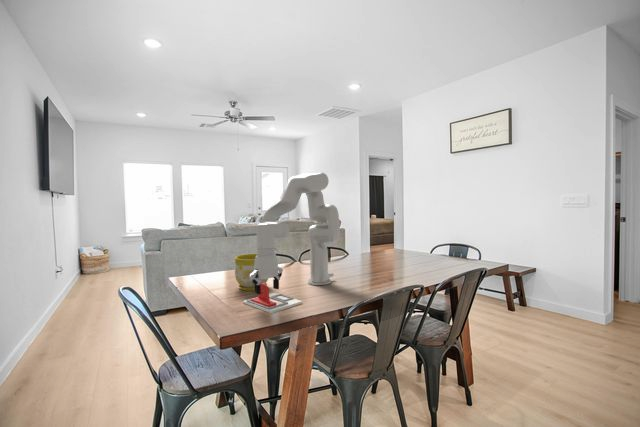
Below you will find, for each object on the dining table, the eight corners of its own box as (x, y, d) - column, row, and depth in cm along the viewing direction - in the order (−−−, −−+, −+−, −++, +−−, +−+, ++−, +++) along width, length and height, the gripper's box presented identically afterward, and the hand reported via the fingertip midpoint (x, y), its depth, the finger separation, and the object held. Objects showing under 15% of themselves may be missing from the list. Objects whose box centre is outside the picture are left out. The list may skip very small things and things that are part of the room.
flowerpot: (262, 281, 186) (261, 252, 185) (276, 288, 171) (275, 256, 170) (230, 286, 176) (229, 255, 175) (242, 294, 161) (241, 260, 160)
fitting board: (274, 294, 159) (273, 291, 159) (302, 303, 145) (302, 299, 145) (243, 303, 147) (243, 299, 147) (271, 313, 133) (270, 309, 133)
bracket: (251, 301, 146) (251, 283, 145) (260, 299, 149) (259, 281, 148) (267, 307, 137) (267, 288, 137) (276, 305, 140) (275, 286, 140)
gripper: (276, 248, 152) (277, 285, 153) (243, 253, 140) (245, 294, 141) (287, 250, 147) (288, 288, 148) (254, 255, 134) (255, 297, 135)
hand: (267, 291), depth 144 cm, fingers open, 9 cm apart
